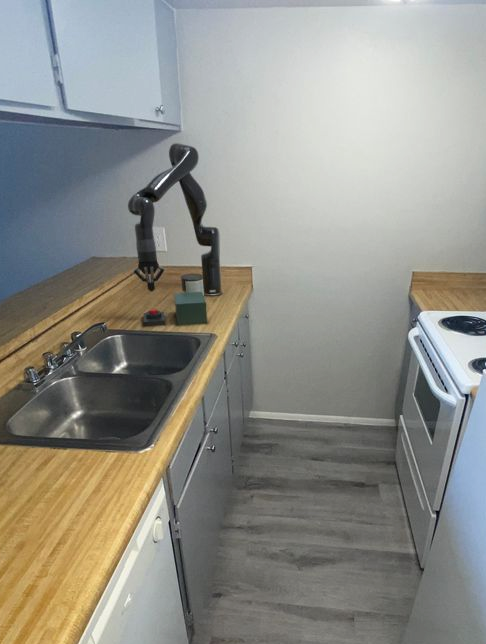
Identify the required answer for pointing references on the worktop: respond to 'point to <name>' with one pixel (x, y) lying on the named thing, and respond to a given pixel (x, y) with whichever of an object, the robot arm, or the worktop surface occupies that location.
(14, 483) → the worktop surface
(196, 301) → the lid
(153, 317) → the button block
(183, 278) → the coffee can
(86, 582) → the worktop surface
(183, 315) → the chest
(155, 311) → the button
